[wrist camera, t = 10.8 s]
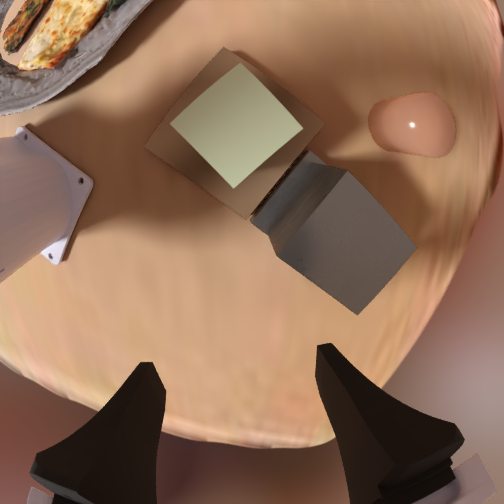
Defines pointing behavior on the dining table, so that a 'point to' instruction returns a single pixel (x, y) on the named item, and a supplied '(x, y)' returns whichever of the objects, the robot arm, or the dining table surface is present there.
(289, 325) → the dining table surface
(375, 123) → the terracotta cylinder
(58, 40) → the food plate
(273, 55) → the dining table surface
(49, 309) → the dining table surface
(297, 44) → the dining table surface
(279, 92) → the pad
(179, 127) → the sage block
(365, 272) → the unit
